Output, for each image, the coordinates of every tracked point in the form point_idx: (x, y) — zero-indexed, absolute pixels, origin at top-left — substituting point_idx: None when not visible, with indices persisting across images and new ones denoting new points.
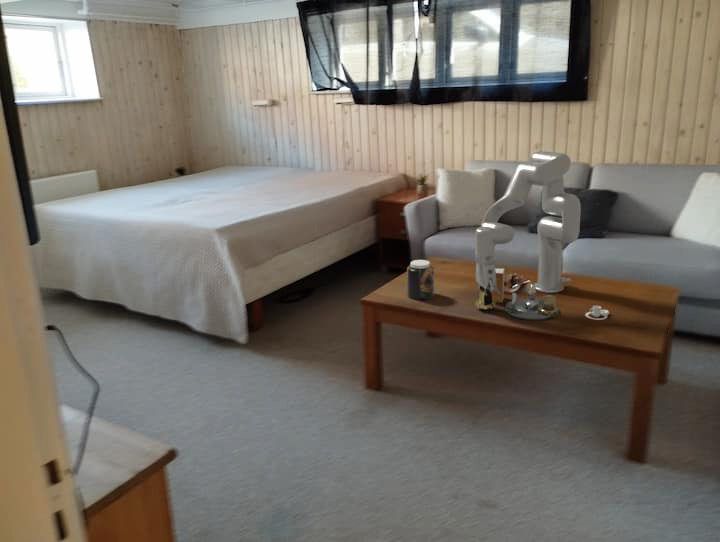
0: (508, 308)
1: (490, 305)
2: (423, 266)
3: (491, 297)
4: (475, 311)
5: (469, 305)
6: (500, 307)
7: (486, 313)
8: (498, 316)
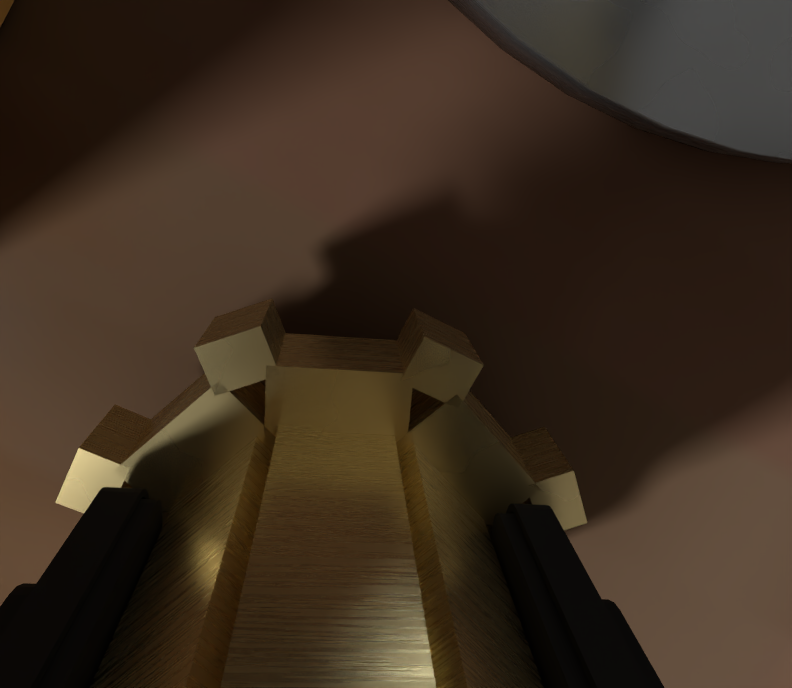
0: (709, 62)
1: None
2: None
3: (610, 645)
4: None
5: None
6: (369, 116)
7: None
8: (788, 413)
